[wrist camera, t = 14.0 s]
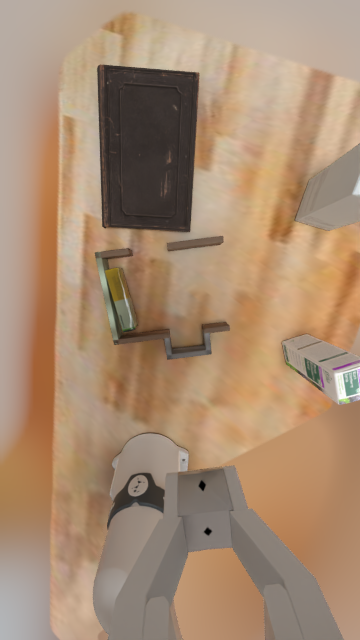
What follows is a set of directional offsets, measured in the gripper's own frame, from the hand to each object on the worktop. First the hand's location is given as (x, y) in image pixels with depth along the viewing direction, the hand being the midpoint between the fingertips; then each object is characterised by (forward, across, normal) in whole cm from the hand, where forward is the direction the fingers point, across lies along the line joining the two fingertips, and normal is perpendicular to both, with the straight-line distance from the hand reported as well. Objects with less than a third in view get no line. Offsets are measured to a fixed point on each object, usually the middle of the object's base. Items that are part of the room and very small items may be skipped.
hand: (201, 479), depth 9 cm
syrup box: (+33, +24, -10) cm, 42 cm away
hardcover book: (+34, -2, +29) cm, 45 cm away
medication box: (+34, -11, +5) cm, 36 cm away
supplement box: (+33, +28, +18) cm, 47 cm away
